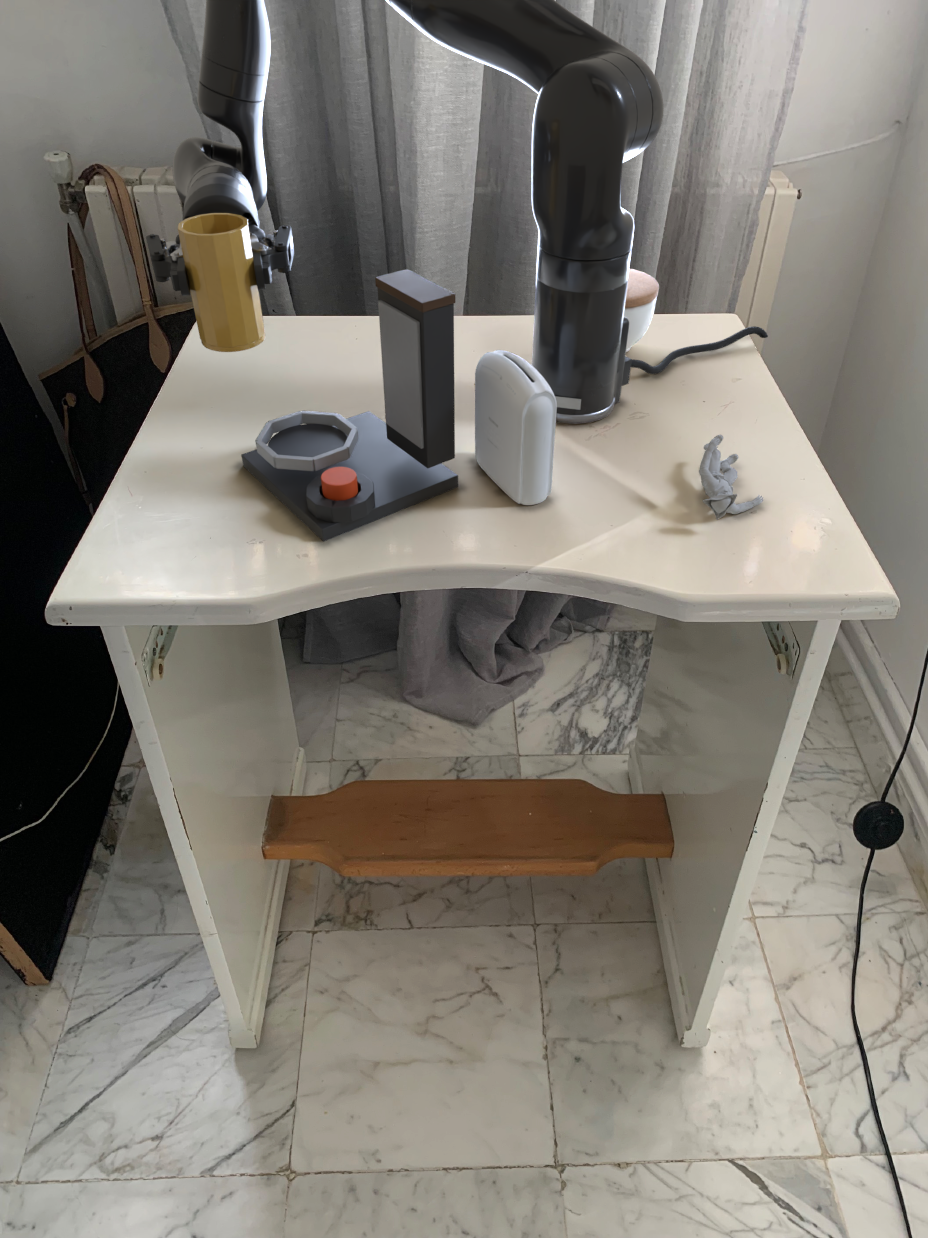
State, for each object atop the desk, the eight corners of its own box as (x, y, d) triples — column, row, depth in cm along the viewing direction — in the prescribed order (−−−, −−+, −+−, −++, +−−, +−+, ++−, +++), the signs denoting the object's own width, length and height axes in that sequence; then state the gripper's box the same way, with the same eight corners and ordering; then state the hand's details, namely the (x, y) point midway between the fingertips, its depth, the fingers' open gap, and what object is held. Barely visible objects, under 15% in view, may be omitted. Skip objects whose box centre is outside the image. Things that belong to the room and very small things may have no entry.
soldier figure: (756, 479, 90) (783, 512, 79) (716, 509, 92) (737, 546, 81) (709, 419, 88) (730, 445, 77) (669, 451, 90) (684, 481, 79)
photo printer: (468, 460, 91) (468, 343, 83) (506, 450, 92) (510, 334, 84) (517, 511, 84) (522, 389, 76) (556, 500, 85) (566, 379, 77)
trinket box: (657, 363, 108) (669, 285, 101) (567, 363, 108) (574, 285, 101) (642, 326, 116) (652, 251, 110) (559, 327, 116) (564, 252, 109)
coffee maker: (370, 397, 95) (359, 243, 84) (456, 458, 86) (455, 293, 75) (243, 440, 88) (214, 278, 78) (321, 510, 79) (300, 338, 69)
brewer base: (370, 422, 97) (368, 396, 95) (461, 489, 87) (461, 462, 85) (243, 466, 90) (238, 439, 88) (326, 545, 80) (323, 517, 78)
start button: (346, 478, 84) (344, 462, 82) (364, 494, 82) (363, 477, 80) (316, 490, 82) (314, 473, 81) (334, 506, 80) (332, 489, 79)
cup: (247, 320, 89) (229, 208, 82) (277, 341, 85) (260, 225, 78) (190, 335, 86) (166, 221, 79) (218, 358, 82) (195, 240, 76)
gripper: (139, 186, 88) (127, 244, 76) (287, 177, 91) (298, 232, 78) (157, 264, 93) (148, 329, 81) (296, 253, 96) (308, 316, 83)
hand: (222, 281), depth 80 cm, fingers closed on cup, 6 cm apart
